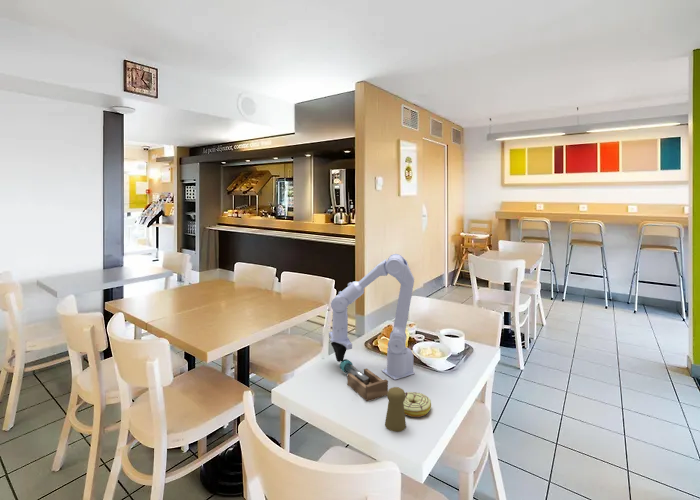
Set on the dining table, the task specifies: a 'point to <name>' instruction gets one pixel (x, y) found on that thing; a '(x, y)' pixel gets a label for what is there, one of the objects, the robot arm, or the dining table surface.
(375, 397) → the housing
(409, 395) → the decorated donut
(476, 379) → the dining table surface
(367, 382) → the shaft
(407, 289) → the robot arm
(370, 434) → the dining table surface
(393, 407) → the olive brown pawn
